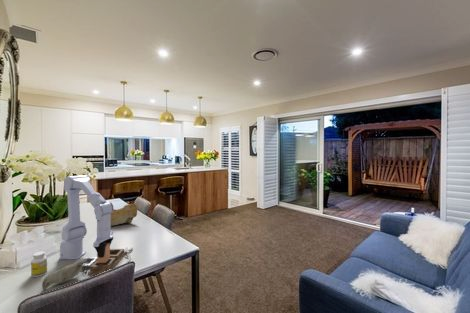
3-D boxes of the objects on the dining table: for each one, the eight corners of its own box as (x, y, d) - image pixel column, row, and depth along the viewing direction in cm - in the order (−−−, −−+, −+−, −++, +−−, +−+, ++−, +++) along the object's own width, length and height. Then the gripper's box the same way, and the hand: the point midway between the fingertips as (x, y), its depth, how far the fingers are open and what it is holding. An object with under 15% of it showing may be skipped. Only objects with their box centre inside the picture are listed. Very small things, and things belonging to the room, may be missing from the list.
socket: (72, 268, 106) (72, 265, 106) (82, 260, 114) (82, 257, 114) (89, 268, 107) (89, 265, 107) (98, 260, 115) (98, 257, 115)
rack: (87, 274, 102) (87, 267, 102) (108, 253, 122) (109, 248, 122) (107, 274, 103) (108, 267, 103) (125, 253, 123) (125, 248, 123)
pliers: (108, 260, 112) (120, 247, 127) (108, 263, 112) (120, 250, 127) (128, 260, 113) (138, 247, 128) (128, 263, 113) (138, 249, 128)
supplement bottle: (28, 275, 100) (28, 254, 99) (42, 269, 105) (42, 249, 104) (35, 278, 98) (35, 257, 97) (49, 272, 103) (49, 251, 102)
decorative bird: (40, 288, 92) (40, 270, 92) (84, 271, 105) (84, 256, 105) (44, 293, 89) (44, 275, 88) (89, 275, 102) (89, 260, 101)
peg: (97, 262, 105) (97, 246, 105) (101, 258, 109) (101, 242, 109) (105, 262, 105) (105, 246, 105) (109, 258, 109) (109, 242, 109)
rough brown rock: (137, 218, 184) (137, 201, 184) (137, 223, 168) (137, 204, 169) (105, 222, 174) (105, 203, 175) (102, 228, 159) (102, 207, 160)
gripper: (104, 233, 100) (104, 262, 100) (119, 222, 114) (118, 248, 115) (88, 233, 99) (88, 262, 100) (104, 222, 114) (104, 248, 114)
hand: (103, 254), depth 107 cm, fingers closed on peg, 4 cm apart
